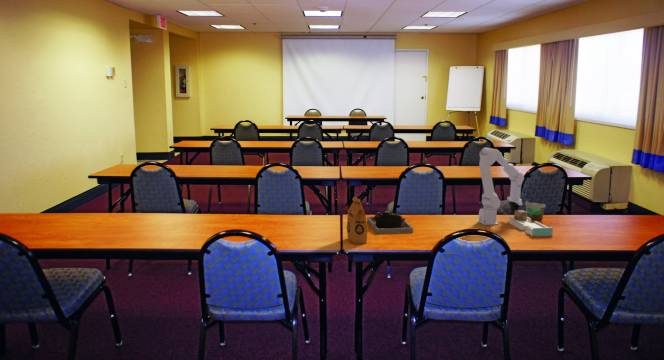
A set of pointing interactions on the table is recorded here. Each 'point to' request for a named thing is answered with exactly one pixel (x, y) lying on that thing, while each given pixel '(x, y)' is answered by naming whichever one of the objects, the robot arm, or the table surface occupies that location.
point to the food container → (535, 210)
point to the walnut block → (520, 215)
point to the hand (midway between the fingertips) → (513, 214)
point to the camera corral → (390, 230)
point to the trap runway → (532, 227)
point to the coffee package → (357, 223)
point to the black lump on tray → (388, 220)
